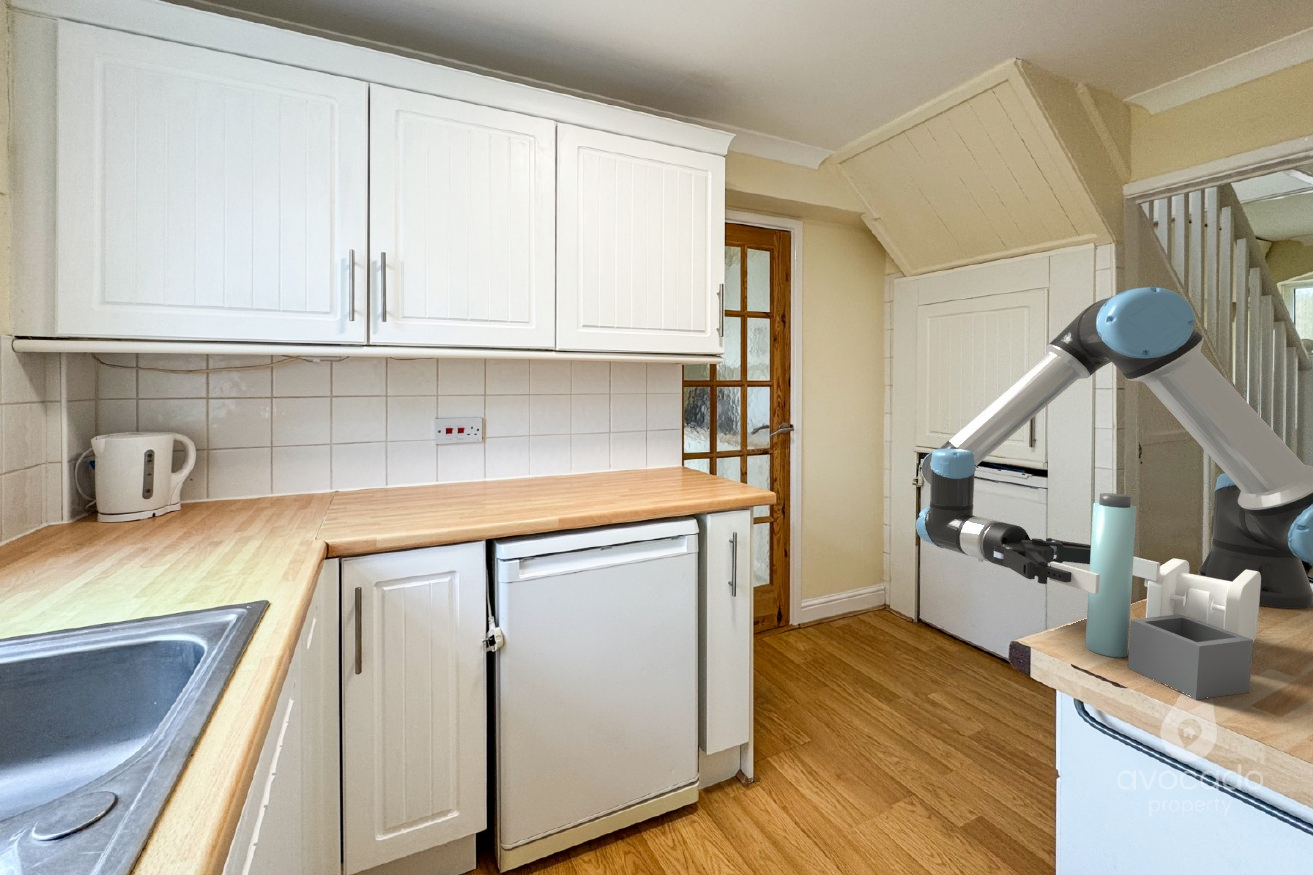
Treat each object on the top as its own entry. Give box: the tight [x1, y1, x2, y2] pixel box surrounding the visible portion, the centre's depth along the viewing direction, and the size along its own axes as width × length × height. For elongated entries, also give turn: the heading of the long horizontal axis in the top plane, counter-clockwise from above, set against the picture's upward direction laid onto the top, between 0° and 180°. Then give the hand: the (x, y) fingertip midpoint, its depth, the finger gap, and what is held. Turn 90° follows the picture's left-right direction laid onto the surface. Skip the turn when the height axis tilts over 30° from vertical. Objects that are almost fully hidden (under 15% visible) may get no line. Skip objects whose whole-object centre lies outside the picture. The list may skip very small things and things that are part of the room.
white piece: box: [1144, 558, 1261, 644], centre depth 87 cm, size 15×11×12 cm
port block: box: [1127, 614, 1254, 701], centre depth 77 cm, size 9×9×7 cm
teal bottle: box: [1085, 492, 1137, 658], centre depth 86 cm, size 5×5×24 cm
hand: (1129, 577), depth 83 cm, fingers open, 13 cm apart
